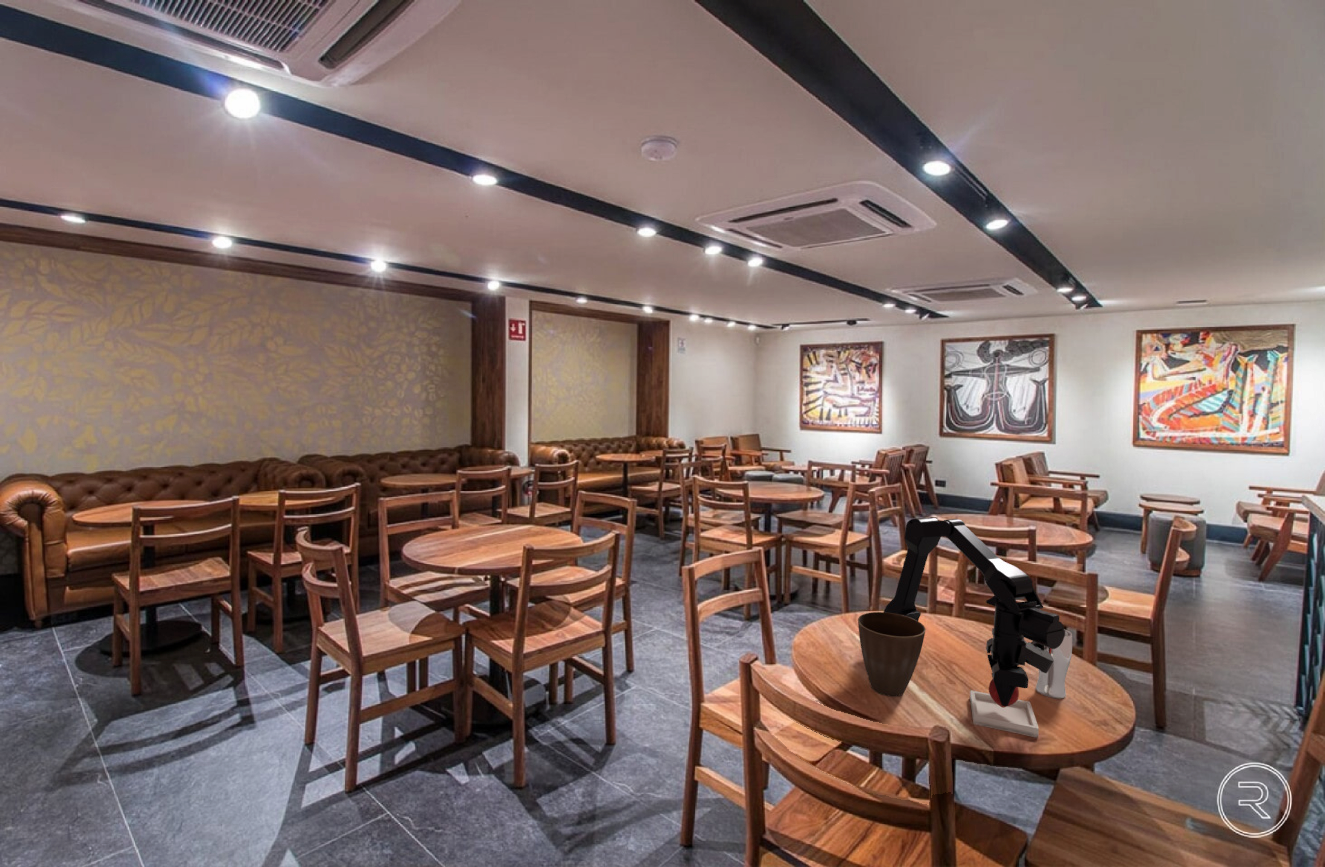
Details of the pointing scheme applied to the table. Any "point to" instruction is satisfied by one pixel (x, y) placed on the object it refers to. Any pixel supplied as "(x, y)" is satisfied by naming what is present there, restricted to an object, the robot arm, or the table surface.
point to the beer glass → (1056, 670)
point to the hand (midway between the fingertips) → (1002, 699)
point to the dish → (1003, 715)
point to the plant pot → (890, 650)
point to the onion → (996, 698)
